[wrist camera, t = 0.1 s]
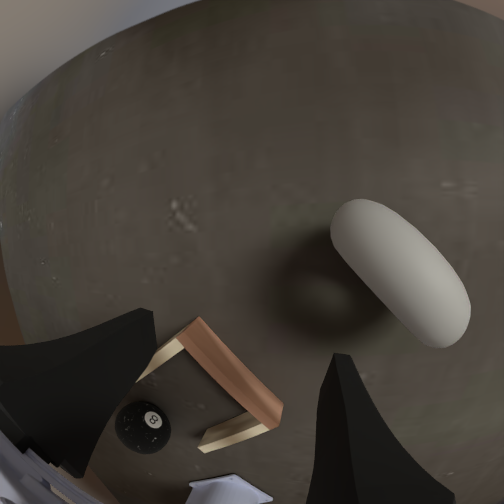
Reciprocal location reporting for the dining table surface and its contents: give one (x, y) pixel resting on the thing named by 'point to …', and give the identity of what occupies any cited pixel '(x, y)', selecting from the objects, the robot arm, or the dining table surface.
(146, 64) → the dining table surface
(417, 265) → the donut
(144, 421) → the billiard ball
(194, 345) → the wooden u-shaped frame
